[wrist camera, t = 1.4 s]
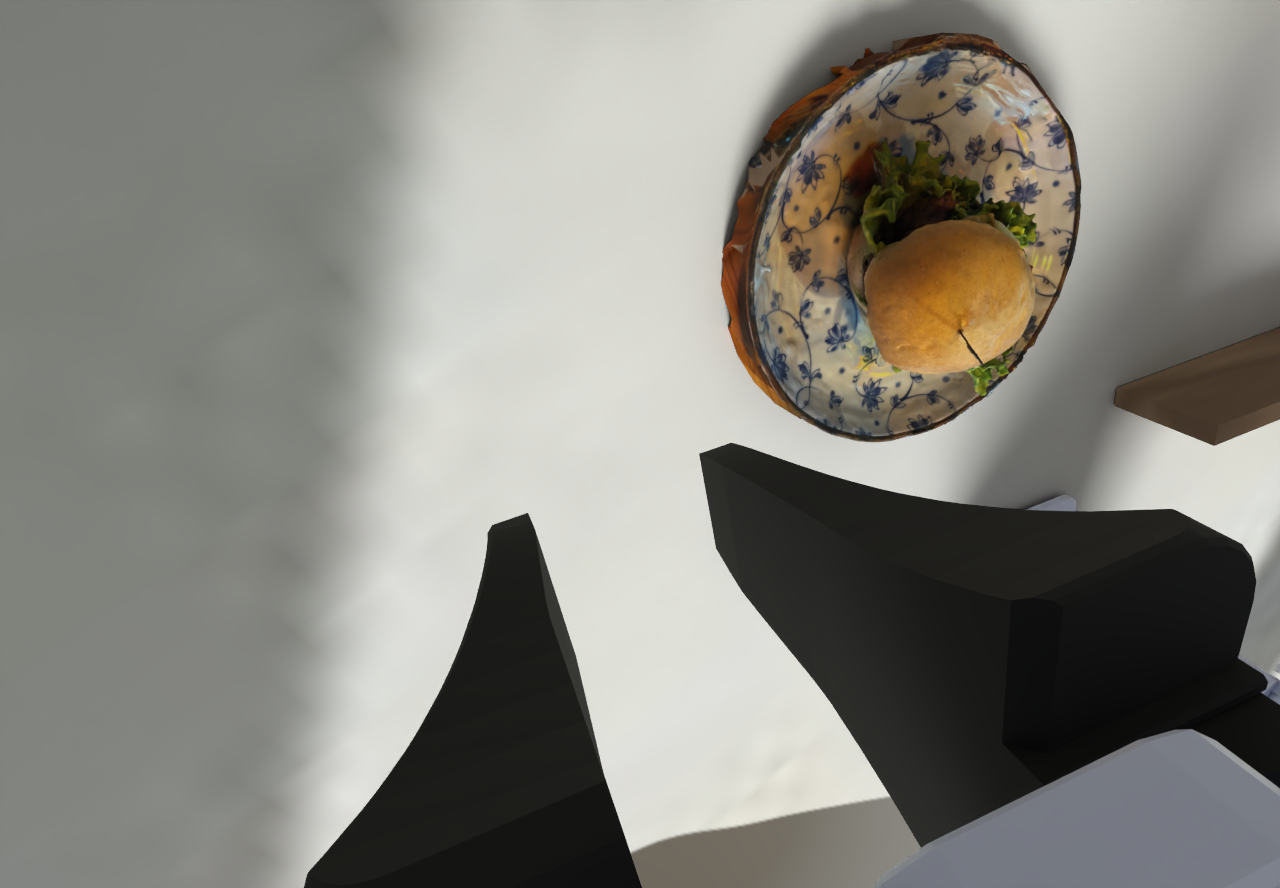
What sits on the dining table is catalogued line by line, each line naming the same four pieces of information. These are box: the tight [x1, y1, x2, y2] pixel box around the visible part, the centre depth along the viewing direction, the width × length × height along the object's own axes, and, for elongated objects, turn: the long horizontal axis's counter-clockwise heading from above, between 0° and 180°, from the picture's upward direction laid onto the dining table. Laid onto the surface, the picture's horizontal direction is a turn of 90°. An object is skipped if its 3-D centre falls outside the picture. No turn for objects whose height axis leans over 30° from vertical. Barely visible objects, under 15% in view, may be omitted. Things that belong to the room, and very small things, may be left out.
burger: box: [721, 33, 1081, 442], centre depth 20 cm, size 12×12×8 cm
